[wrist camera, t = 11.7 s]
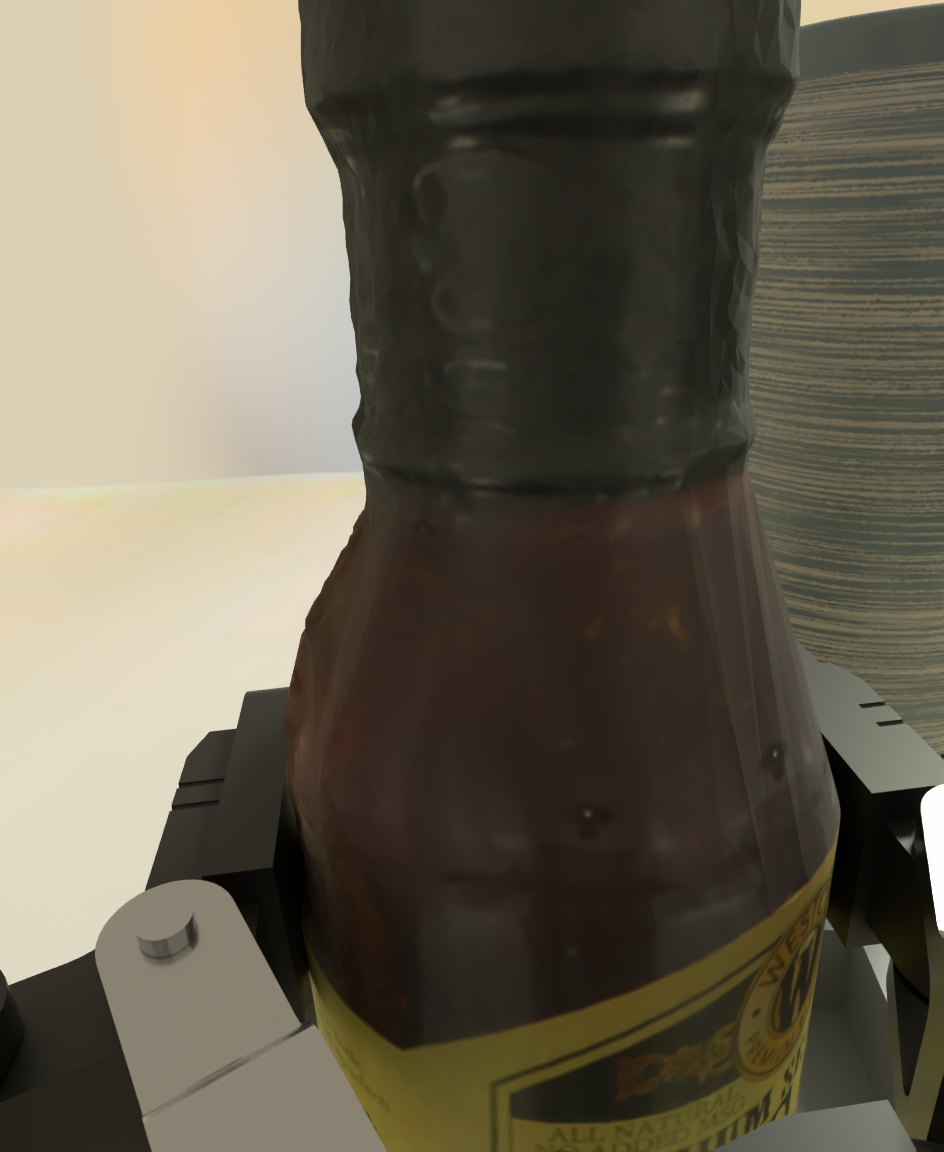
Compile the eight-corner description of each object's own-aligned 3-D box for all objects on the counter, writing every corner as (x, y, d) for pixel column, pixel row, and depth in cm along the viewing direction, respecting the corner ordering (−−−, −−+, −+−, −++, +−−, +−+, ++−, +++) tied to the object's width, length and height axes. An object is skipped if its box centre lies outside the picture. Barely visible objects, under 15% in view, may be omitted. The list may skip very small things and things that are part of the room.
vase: (616, 711, 34) (625, 48, 25) (776, 611, 41) (833, 57, 31) (906, 862, 26) (1091, -40, 16) (1047, 708, 33) (1241, -2, 23)
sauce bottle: (597, 1769, 11) (558, -556, 2) (303, 1348, 15) (-90, -46, 6) (825, 1305, 15) (1099, -130, 7) (545, 1077, 19) (497, 17, 11)
